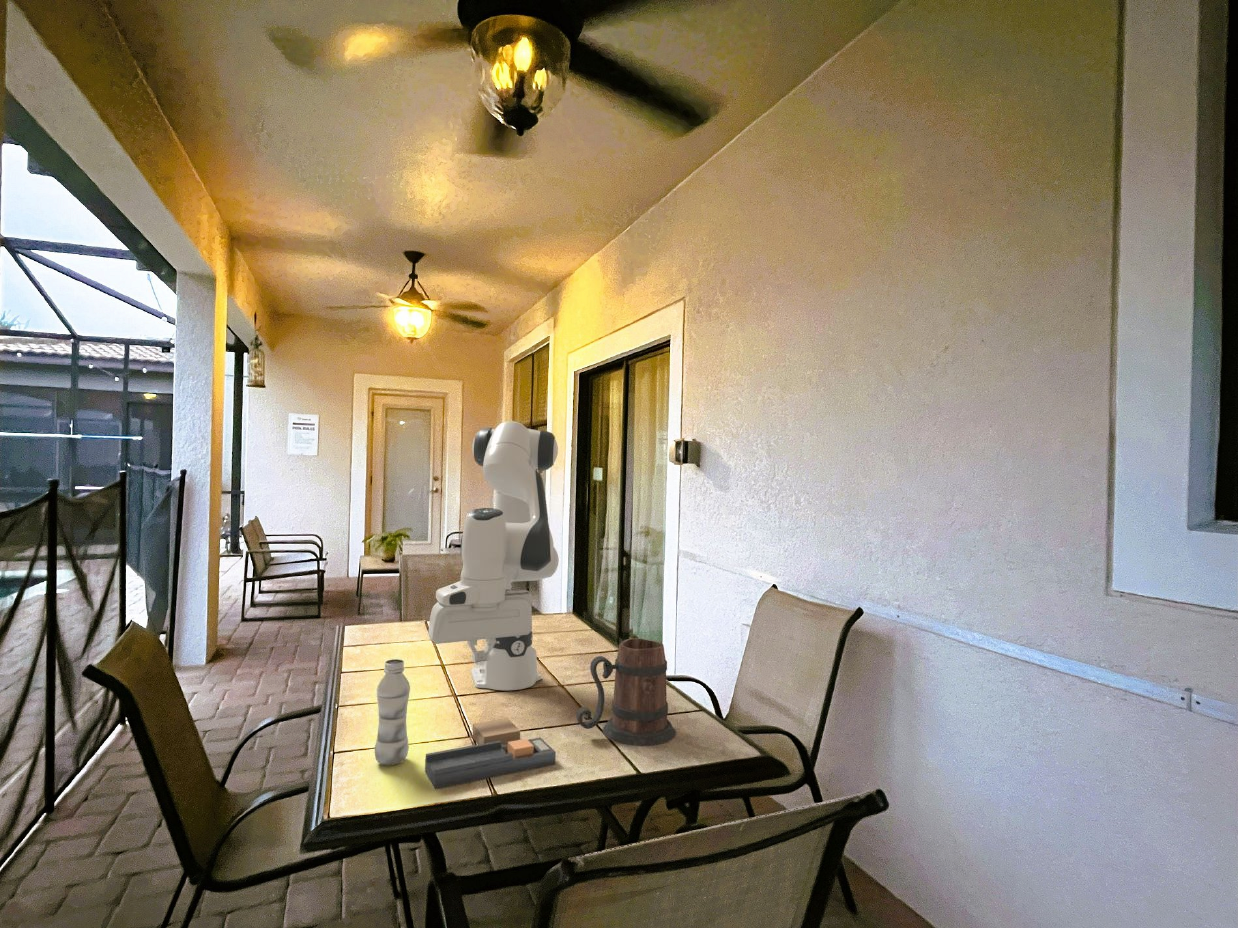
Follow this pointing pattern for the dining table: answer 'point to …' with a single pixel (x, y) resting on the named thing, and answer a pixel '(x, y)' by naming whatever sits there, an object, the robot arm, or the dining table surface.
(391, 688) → the plastic bottle
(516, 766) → the grey slotted tray
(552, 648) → the dining table surface
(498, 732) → the brown square plate
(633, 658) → the tankard
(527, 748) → the peach foam cube
